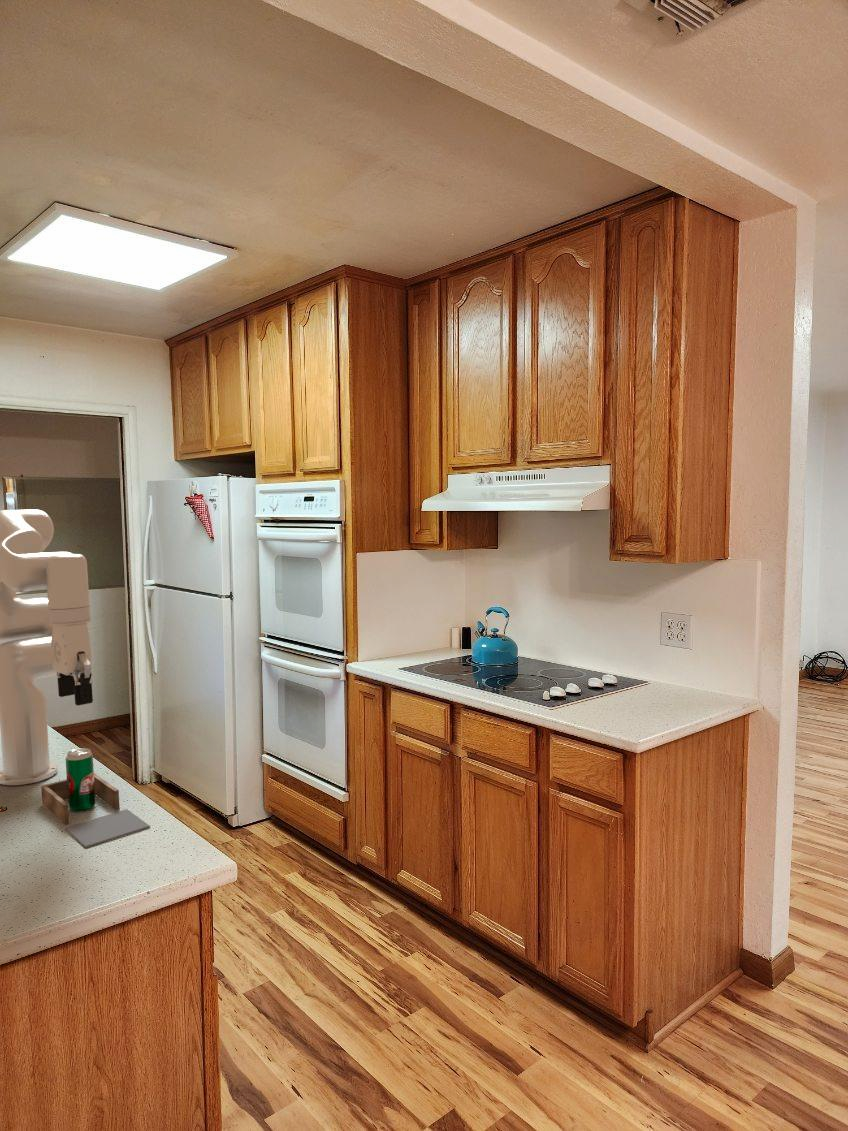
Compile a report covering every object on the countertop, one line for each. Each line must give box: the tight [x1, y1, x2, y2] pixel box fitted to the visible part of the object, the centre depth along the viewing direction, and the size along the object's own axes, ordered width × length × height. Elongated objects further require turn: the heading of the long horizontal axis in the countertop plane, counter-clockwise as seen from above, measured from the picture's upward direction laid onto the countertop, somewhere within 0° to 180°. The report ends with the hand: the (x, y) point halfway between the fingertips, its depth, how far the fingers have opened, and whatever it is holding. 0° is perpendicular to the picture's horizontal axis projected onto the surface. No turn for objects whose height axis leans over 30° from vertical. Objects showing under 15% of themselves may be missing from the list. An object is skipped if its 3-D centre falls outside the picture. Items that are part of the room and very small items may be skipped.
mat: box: [64, 808, 151, 849], centre depth 146 cm, size 11×12×1 cm
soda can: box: [65, 747, 96, 813], centre depth 156 cm, size 5×5×12 cm
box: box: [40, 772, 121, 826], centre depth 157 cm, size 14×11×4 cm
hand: (75, 699), depth 154 cm, fingers open, 9 cm apart
